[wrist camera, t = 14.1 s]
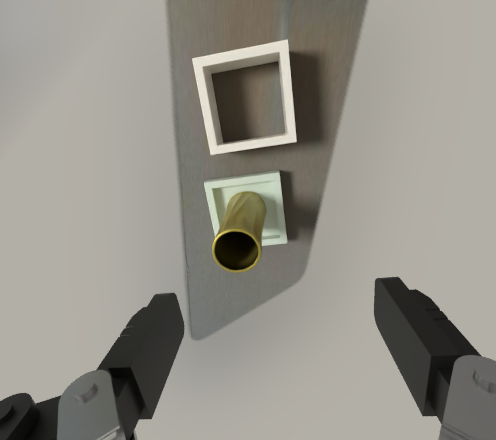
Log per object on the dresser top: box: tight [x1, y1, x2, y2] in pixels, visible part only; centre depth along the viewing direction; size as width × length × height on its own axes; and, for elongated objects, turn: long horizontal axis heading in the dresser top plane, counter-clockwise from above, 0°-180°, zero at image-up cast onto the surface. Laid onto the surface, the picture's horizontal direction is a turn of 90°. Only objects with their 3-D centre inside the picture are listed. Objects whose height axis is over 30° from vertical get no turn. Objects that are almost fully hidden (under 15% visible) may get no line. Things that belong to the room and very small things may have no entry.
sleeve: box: [192, 40, 297, 155], centre depth 34 cm, size 11×11×5 cm
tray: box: [204, 170, 287, 246], centre depth 41 cm, size 11×11×2 cm
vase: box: [212, 191, 266, 273], centre depth 35 cm, size 6×6×14 cm
